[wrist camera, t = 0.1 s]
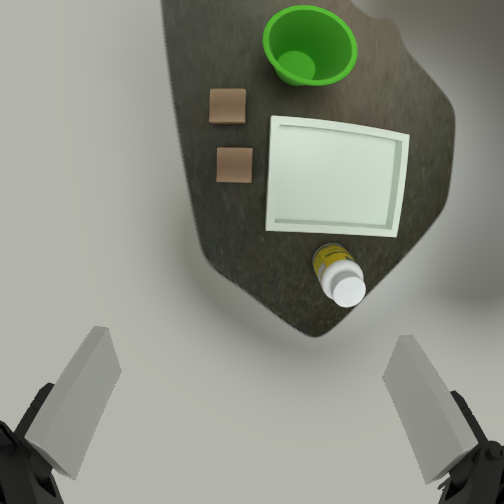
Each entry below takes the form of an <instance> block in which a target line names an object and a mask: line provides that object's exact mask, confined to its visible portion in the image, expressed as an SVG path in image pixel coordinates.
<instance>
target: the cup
mask: <svg viewBox="0 0 504 504" xmlns="http://www.w3.org/2000/svg"><path fill="white" fill-rule="evenodd" d="M262 43H263V48H264V52H265V54H266V56H267V58H268V60H269V62H270V63H271V64H272V65H273V66H274V69H275V72H276V74H277V76H278V77H279V78H280V80H281V81H283V82H284V83H286V84H288V85H290V86H295V87H300V86H305V85H310V86H324V85H330V84H333V83H335V82H338V81H340V80H342V79H343V78H344V77H346V76H347V75H348V74H349V73H350V72H351V70H352V69H353V67H354V66H355V63H356V60H357V44H356V40H355V37H354V35H353V33H352V31H351V30H350V28H349V27H348V26H347V25H346V23H345V22H344V21H343V20H342V19H340V18H339V17H338V16H337V15H335V14H334V13H332V12H330V11H328V10H326V9H323V8H319V7H316V6H308V5H299V6H291V7H289V8H286V9H283V10H281V11H279V12H278V13H276V14H275V15H273V16H272V18H271V19H270V20H269V21H268V22H267V24H266V26H265V29H264V31H263V38H262Z"/></svg>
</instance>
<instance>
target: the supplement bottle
mask: <svg viewBox="0 0 504 504" xmlns="http://www.w3.org/2000/svg"><path fill="white" fill-rule="evenodd" d="M313 268H314V270H315V273H316V275H317V277H318V279H319V282H320V284H321V286H322V289H323V291H324V292H325V294H326V295H327V296H328V297H329V298H331V299H333V300H334V301H335V302H336V303H337V304H338V305H340V306H342V307H351V306H354V305H356V304H357V303H359V302H360V301H361V300H362V298H363V297H364V295H365V290H366V289H365V284H364V282H363V273H362V270H361V269H360V267H359V265H358V264H357V263H356V262H355V260H354V259H353V258H352V257H351V255H350V254H349V253H348V251H347V250H346V249H345V248H344V247H343V246H341V245H340V244H337V243H327V244H324V245H322V246H321V247H320V248H318V250H317V251H316V252H315V254H314V256H313Z"/></svg>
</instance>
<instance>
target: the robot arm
mask: <svg viewBox="0 0 504 504" xmlns="http://www.w3.org/2000/svg"><path fill="white" fill-rule="evenodd" d="M121 372H122V371H121V368H120V365H119V362H118V359H117V355H116V352H115V349H114V346H113V342H112V339H111V336H110V332H109V328H105V327H99V326H94V327H93V329H92V330H91V331H90V333H89V334H88V336H87V337H86V338H85V340H84V341H83V343H82V344H81V346H80V347H79V349H78V350H77V352H76V353H75V355H74V356H73V358H72V359H71V360H70V362H69V363H68V365H67V366H66V368H65V370H64V371H63V373H62V374H61V376H60V377H59V379H58V380H57V382H56V384H52V383H47V384H46V385H45V386H44V387H42V388H41V389H40V390H39V392H38V393H37V395H36V396H35V398H34V400H33V401H32V403H31V404H30V407H29V408H28V409H27V411H26V413H25V414H24V416H23V418H22V419H21V421H20V423H19V424H18V426H17V428H16V430H15V431H14V433H13V432H12V431H11V430H10V428H9V427H8V426H7V425H6V424H5V423H4V422H2V421H0V504H64V503H63V500H62V498H61V495H60V493H59V490H58V487H57V485H56V482H55V479H54V477H53V475H52V473H51V471H52V468H54V469H55V470H56V471H57V472H58V473H59V474H61V475H63V476H65V477H68V478H70V479H72V480H76V477H77V475H78V472H79V469H80V467H81V464H82V462H83V459H84V456H85V454H86V451H87V449H88V446H89V444H90V441H91V439H92V437H93V434H94V432H95V429H96V427H97V425H98V422H99V420H100V418H101V415H102V413H103V411H104V409H105V406H106V404H107V402H108V399H109V397H110V395H111V393H112V391H113V389H114V387H115V384H116V382H117V380H118V378H119V376H120V374H121ZM382 378H383V380H384V382H385V384H386V387H387V389H388V391H389V393H390V396H391V398H392V400H393V403H394V405H395V407H396V409H397V412H398V414H399V417H400V419H401V421H402V424H403V426H404V428H405V431H406V433H407V436H408V438H409V441H410V443H411V446H412V448H413V451H414V453H415V456H416V459H417V461H418V464H419V467H420V469H421V472H422V475H423V478H424V480H425V483H426V484H429V483H431V482H434V481H437V480H439V479H441V478H442V477H443V476H445V475H446V474H447V473H448V472H449V474H450V477H449V478H448V479H446V480H445V481H444V482H443V483H442V484H440V485H439V487H438V489H441V488H442V487H443V486H444V485H445V487H444V489H443V490H442V491H443V493H442V495H441V498H440V500H439V503H438V504H504V446H501V445H500V444H499V443H498V442H496V441H488V440H487V438H486V436H485V435H484V433H483V431H482V429H481V427H480V425H479V424H478V422H477V420H476V418H475V417H474V415H472V412H471V410H470V408H468V405H467V403H466V402H465V400H464V398H463V397H462V396H461V395H460V394H458V393H457V392H456V391H451V392H449V390H448V389H447V387H446V385H445V384H444V382H443V380H442V379H441V377H440V376H439V374H438V372H437V371H436V369H435V368H434V366H433V365H432V363H431V362H430V360H429V359H428V357H427V355H426V354H425V352H424V351H423V349H422V348H421V347H420V345H419V343H418V342H417V341H416V339H415V338H414V336H413V335H401V336H399V338H398V340H397V343H396V346H395V348H394V351H393V353H392V356H391V358H390V361H389V363H388V365H387V368H386V370H385V372H384V375H383V377H382Z"/></svg>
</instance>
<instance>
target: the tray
mask: <svg viewBox="0 0 504 504" xmlns="http://www.w3.org/2000/svg"><path fill="white" fill-rule="evenodd" d="M408 146H409V135H407V134H402V133H398V132H393V131H388V130H383V129H378V128H373V127H367V126H361V125H355V124H348V123H342V122H334V121H326V120H318V119H308V118H298V117H285V116H271V117H270V125H269V148H268V171H267V192H266V212H265V228H266V231H290V232H313V233H333V234H352V235H370V236H387V237H397V231H398V226H399V220H400V214H401V207H402V201H403V194H404V186H405V178H406V169H407V158H408Z"/></svg>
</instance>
